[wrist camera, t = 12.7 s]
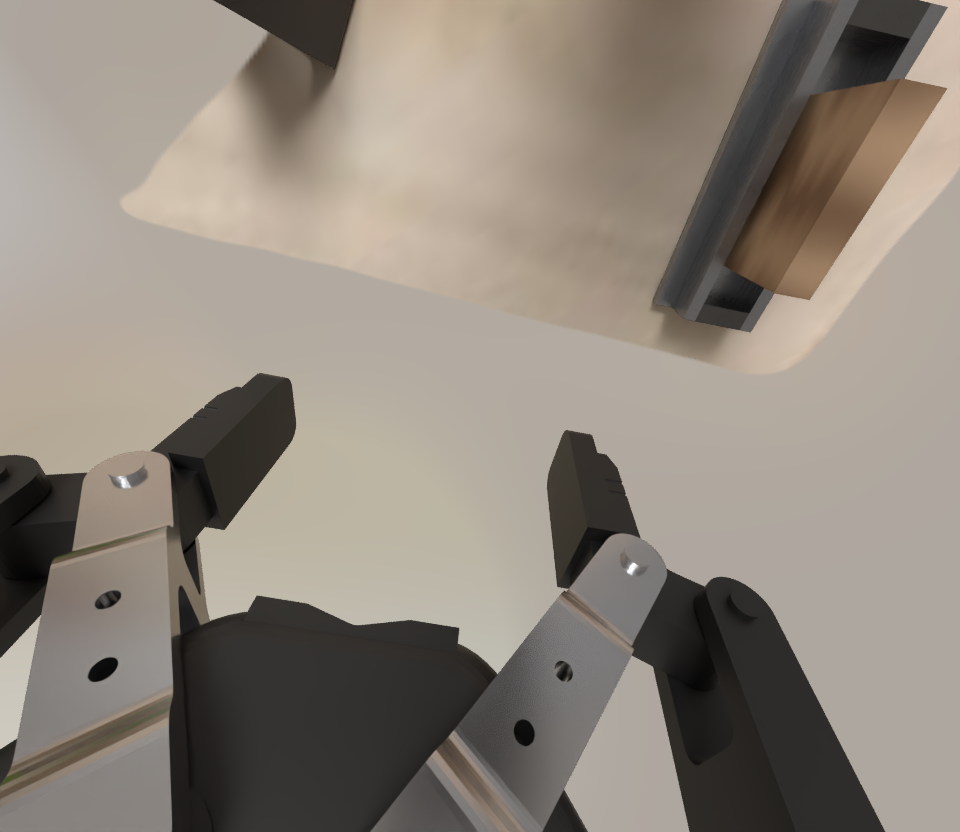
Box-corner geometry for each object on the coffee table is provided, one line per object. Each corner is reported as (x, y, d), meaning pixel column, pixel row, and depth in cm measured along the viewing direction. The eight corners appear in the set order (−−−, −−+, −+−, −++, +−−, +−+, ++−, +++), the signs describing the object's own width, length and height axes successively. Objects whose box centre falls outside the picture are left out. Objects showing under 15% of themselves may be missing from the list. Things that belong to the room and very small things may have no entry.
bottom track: (782, -1, 25) (823, -23, 22) (912, 30, 26) (972, 13, 22) (652, 300, 37) (666, 315, 33) (744, 319, 37) (767, 335, 34)
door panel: (794, 98, 27) (900, 78, 20) (828, 105, 27) (947, 88, 20) (715, 261, 33) (773, 293, 26) (743, 266, 33) (809, 299, 26)
